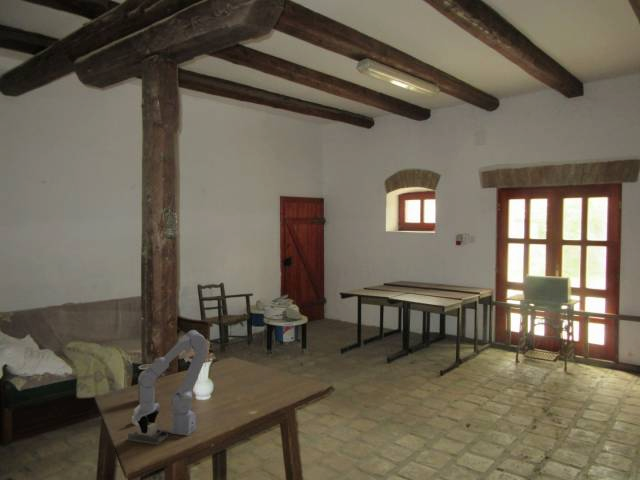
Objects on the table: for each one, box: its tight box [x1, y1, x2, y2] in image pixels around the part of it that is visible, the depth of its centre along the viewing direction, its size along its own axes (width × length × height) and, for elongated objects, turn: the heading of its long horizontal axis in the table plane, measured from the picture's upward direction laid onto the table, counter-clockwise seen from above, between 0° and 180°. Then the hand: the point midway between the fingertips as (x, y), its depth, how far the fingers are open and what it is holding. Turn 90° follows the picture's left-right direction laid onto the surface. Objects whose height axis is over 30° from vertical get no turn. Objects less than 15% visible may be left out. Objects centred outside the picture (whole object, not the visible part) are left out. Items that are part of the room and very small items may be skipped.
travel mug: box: [137, 363, 156, 404], centre depth 243 cm, size 8×8×18 cm
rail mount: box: [126, 428, 169, 446], centre depth 203 cm, size 15×7×3 cm, turn 74°
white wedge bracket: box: [131, 404, 147, 426], centre depth 219 cm, size 4×10×9 cm
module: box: [136, 422, 158, 437], centre depth 203 cm, size 7×4×5 cm, turn 74°
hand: (147, 430), depth 203 cm, fingers closed on module, 4 cm apart
